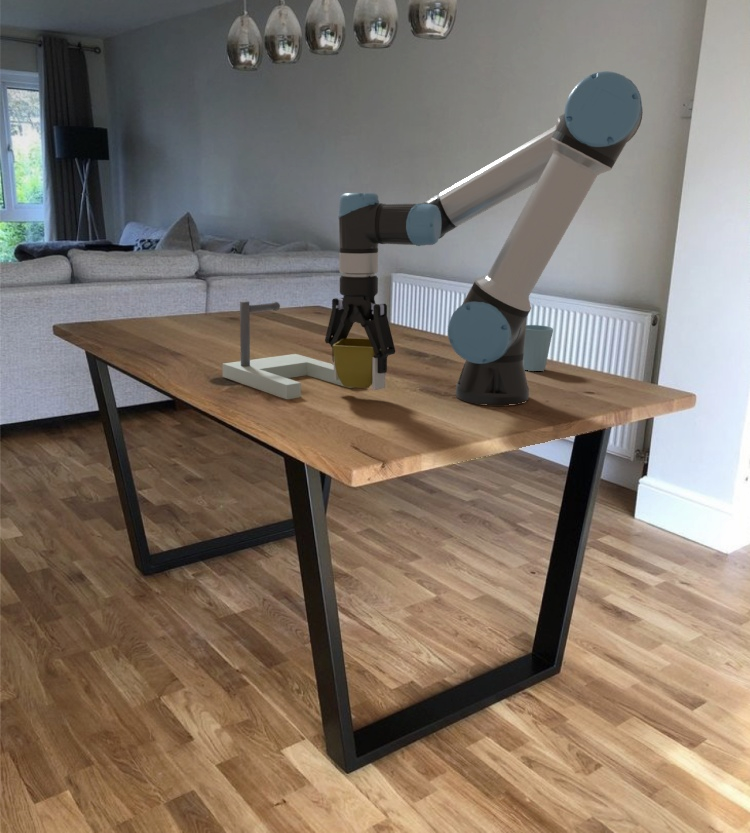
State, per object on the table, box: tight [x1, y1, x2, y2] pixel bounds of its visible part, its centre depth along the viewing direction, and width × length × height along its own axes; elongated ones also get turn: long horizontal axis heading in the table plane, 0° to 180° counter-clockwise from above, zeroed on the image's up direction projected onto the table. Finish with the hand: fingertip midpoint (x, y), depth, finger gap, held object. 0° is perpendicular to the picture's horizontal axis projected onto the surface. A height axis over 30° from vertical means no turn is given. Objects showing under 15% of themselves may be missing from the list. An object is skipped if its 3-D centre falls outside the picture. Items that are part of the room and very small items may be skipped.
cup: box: [523, 324, 554, 372], centre depth 195 cm, size 8×8×10 cm
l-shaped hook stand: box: [222, 300, 355, 400], centre depth 173 cm, size 24×20×17 cm
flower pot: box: [333, 337, 381, 389], centre depth 162 cm, size 9×9×9 cm
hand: (358, 383), depth 163 cm, fingers closed on flower pot, 11 cm apart
